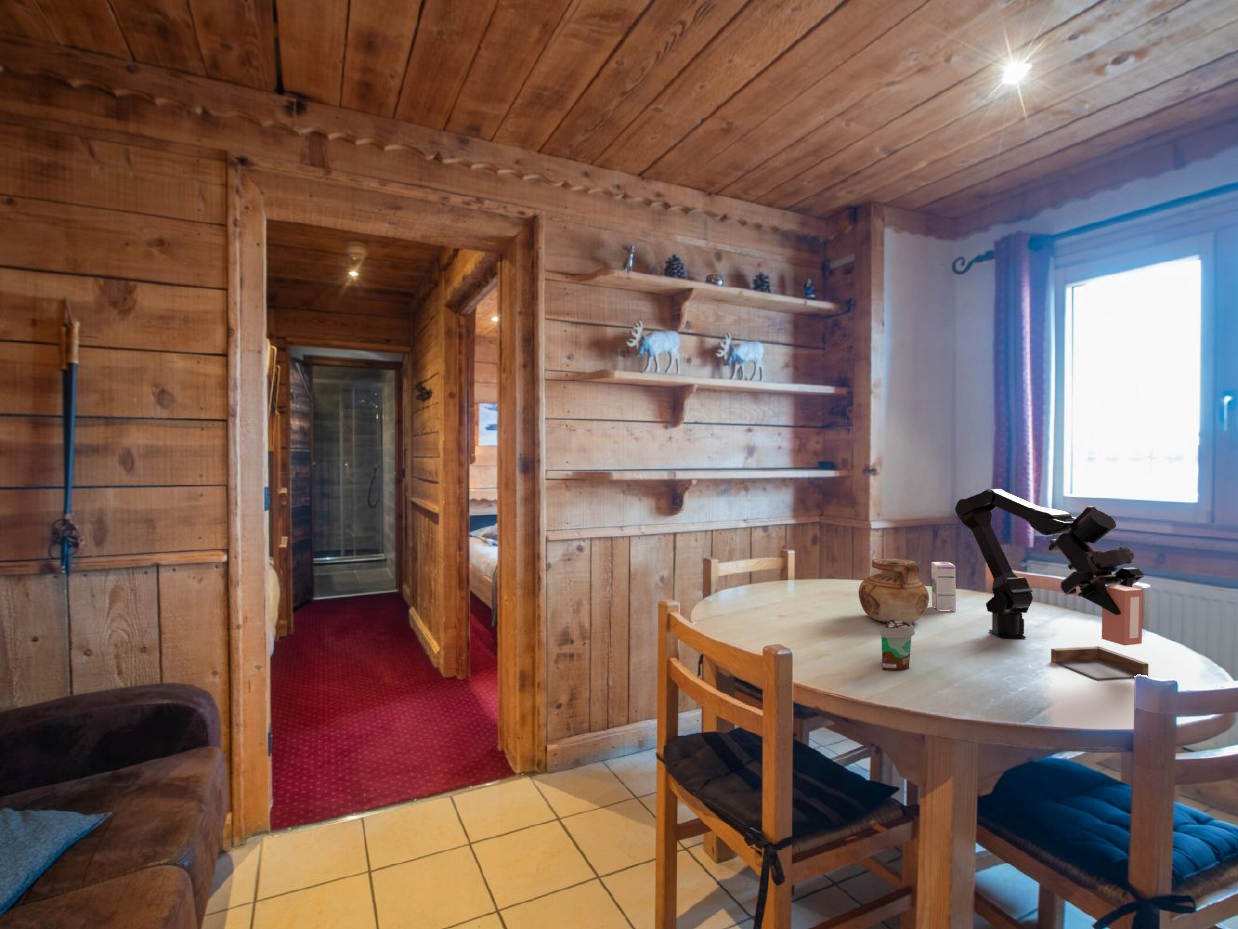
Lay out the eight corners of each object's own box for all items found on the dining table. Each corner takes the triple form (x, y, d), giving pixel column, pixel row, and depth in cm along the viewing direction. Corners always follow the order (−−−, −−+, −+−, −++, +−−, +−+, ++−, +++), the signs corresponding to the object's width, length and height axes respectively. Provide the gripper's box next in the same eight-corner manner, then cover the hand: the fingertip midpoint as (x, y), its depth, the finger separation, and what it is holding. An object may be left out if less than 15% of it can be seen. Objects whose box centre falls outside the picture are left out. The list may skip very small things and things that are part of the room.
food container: (910, 677, 139) (910, 631, 139) (881, 672, 143) (881, 627, 142) (918, 661, 150) (918, 619, 150) (890, 656, 153) (890, 615, 153)
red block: (1101, 638, 143) (1102, 586, 143) (1118, 637, 144) (1119, 584, 144) (1125, 645, 138) (1126, 591, 138) (1142, 643, 139) (1143, 589, 139)
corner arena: (1096, 680, 136) (1097, 666, 136) (1051, 661, 149) (1051, 648, 149) (1148, 677, 138) (1148, 663, 138) (1098, 659, 150) (1098, 646, 150)
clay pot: (840, 610, 186) (855, 545, 191) (873, 624, 197) (886, 562, 201) (903, 623, 171) (917, 552, 175) (935, 637, 181) (947, 570, 186)
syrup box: (956, 612, 195) (956, 565, 195) (936, 611, 196) (936, 564, 196) (950, 607, 200) (950, 561, 200) (930, 606, 202) (930, 561, 201)
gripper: (1073, 536, 142) (1123, 596, 132) (1136, 532, 147) (1188, 590, 136) (1041, 564, 150) (1085, 623, 139) (1101, 560, 155) (1149, 617, 144)
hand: (1128, 613), depth 140 cm, fingers closed on red block, 5 cm apart
